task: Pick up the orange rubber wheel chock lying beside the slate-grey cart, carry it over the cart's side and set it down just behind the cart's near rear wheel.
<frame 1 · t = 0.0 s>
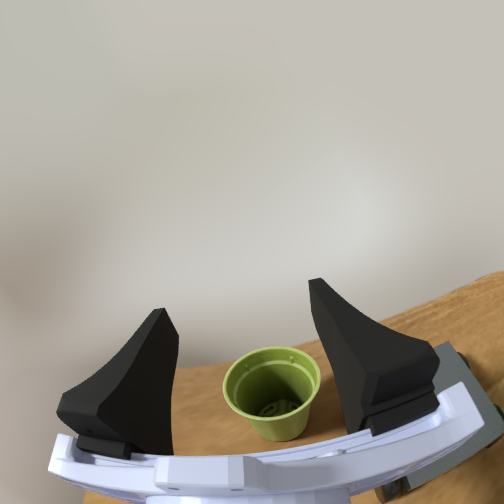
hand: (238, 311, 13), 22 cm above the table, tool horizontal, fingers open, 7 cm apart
trolley: (421, 432, 20), on the table
plant pot: (282, 421, 28), on the table
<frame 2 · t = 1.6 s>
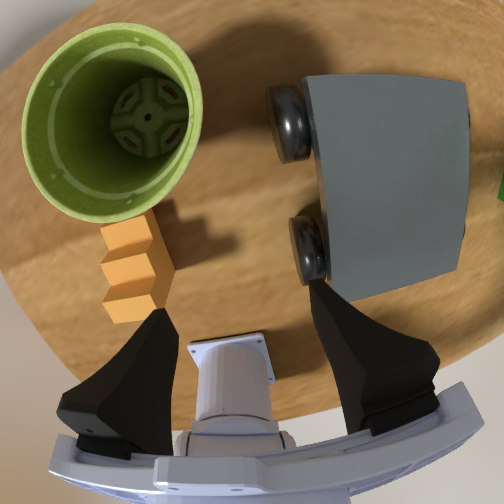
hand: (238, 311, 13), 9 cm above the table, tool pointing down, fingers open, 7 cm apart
trolley: (367, 169, 19), on the table
wheel chock: (142, 244, 22), on the table
plant pot: (151, 115, 17), on the table
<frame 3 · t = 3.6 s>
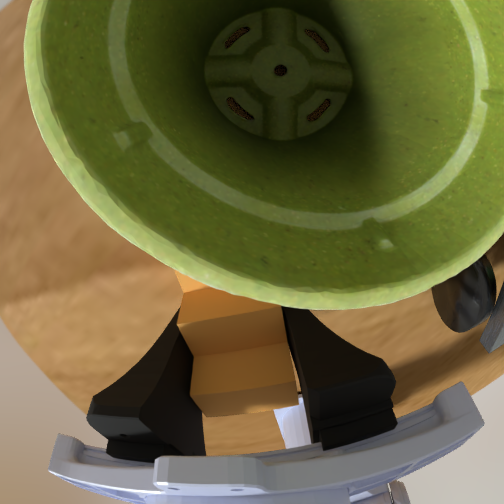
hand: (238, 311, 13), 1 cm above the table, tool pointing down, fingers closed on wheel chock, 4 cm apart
wheel chock: (233, 277, 14), on the table, touching gripper
plant pot: (279, 71, 9), on the table
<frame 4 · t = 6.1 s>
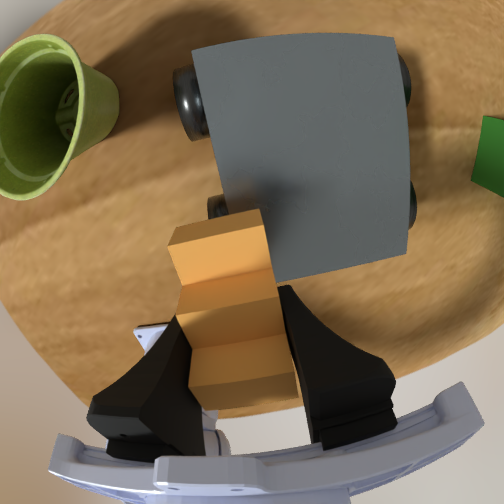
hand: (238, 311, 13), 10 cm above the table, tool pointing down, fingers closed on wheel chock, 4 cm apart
trolley: (298, 145, 19), on the table
wheel chock: (231, 271, 14), point 8 cm above the table, touching gripper
plant pot: (89, 108, 16), on the table
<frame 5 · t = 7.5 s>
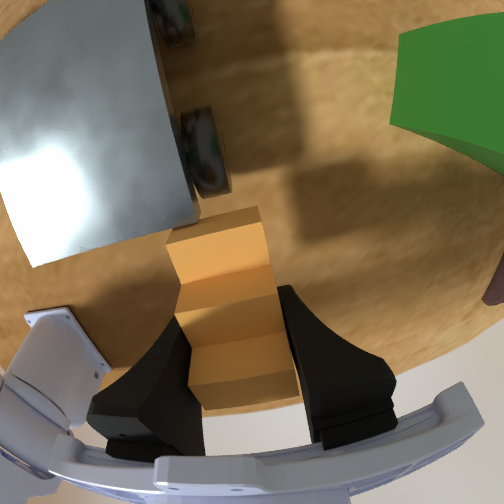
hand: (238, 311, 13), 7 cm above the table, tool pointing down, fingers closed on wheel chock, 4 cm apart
trolley: (106, 111, 14), on the table
hardback book: (471, 116, 15), on the table
wheel chock: (231, 270, 14), point 6 cm above the table, touching gripper
when the fingers open (2 cm above the table, at t = 8.7 s): wheel chock stays where it is, on the table.
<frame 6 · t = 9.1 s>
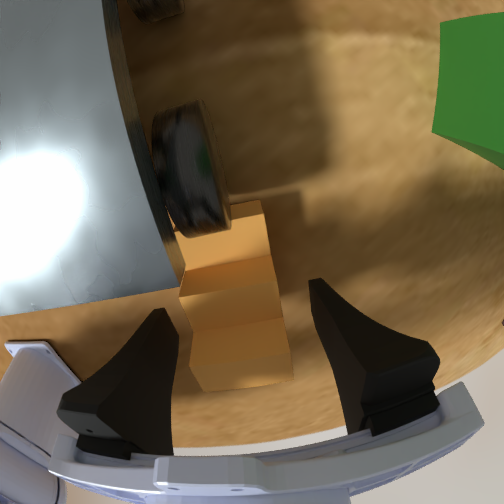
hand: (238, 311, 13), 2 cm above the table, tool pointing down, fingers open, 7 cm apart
trolley: (68, 114, 10), on the table
wheel chock: (232, 259, 15), on the table
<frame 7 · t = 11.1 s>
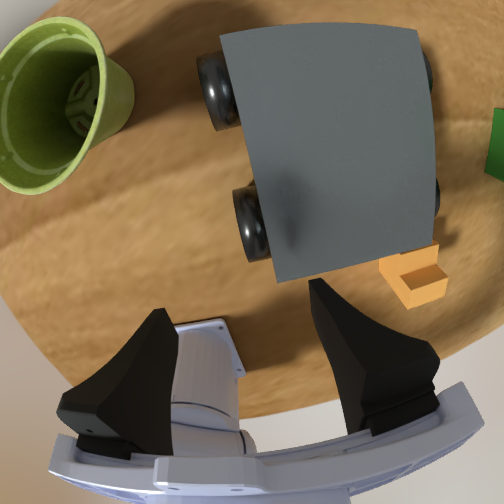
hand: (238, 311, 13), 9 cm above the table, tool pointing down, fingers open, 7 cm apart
trolley: (321, 136, 18), on the table
wheel chock: (397, 237, 23), on the table
plant pot: (101, 100, 16), on the table
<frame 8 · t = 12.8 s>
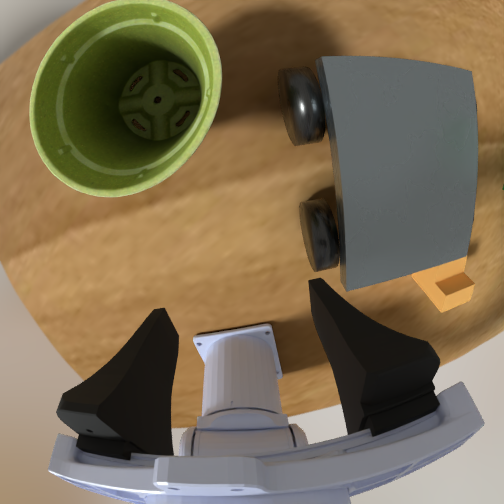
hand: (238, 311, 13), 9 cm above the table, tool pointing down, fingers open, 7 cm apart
trolley: (377, 155, 19), on the table
wheel chock: (429, 248, 23), on the table
plant pot: (161, 99, 16), on the table
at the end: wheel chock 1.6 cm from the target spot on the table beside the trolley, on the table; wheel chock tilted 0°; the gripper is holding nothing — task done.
